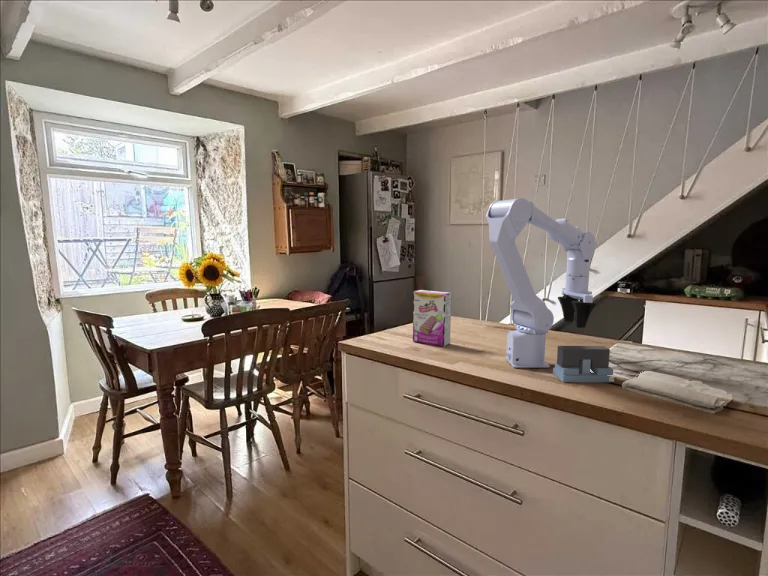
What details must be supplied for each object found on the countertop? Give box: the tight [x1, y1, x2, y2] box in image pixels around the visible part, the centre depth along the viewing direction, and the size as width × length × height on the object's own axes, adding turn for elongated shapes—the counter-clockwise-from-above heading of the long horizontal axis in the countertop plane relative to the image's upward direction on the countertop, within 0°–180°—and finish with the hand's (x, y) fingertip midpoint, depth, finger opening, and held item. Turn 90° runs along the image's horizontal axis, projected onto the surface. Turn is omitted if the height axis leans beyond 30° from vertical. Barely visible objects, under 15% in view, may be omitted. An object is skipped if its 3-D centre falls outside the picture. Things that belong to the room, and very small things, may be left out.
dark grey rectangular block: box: [556, 345, 611, 368], centre depth 100 cm, size 11×3×4 cm, turn 90°
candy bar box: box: [412, 289, 452, 347], centre depth 132 cm, size 11×5×16 cm, turn 58°
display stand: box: [552, 360, 614, 383], centre depth 101 cm, size 12×6×5 cm, turn 90°
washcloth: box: [621, 370, 725, 415], centre depth 91 cm, size 12×18×3 cm, turn 39°
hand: (574, 324), depth 117 cm, fingers open, 7 cm apart
